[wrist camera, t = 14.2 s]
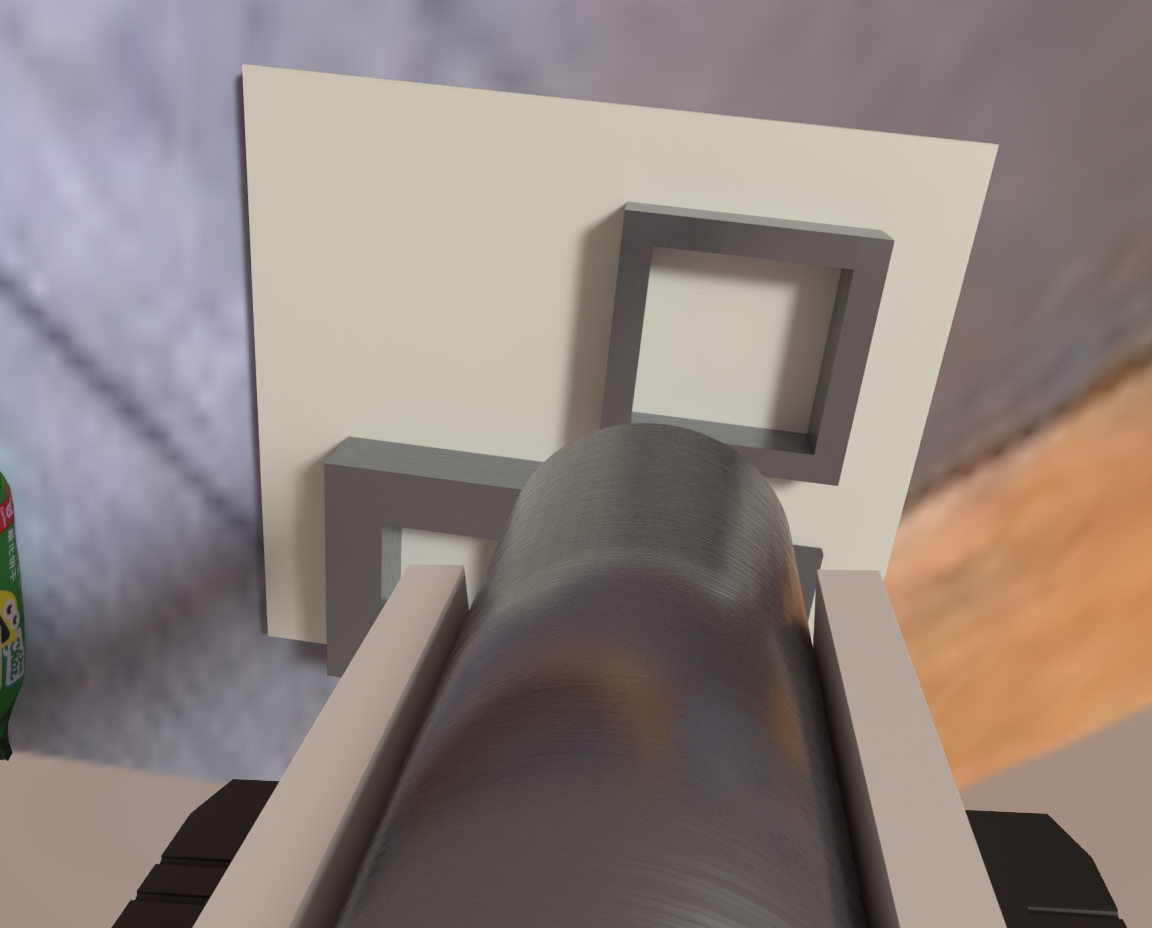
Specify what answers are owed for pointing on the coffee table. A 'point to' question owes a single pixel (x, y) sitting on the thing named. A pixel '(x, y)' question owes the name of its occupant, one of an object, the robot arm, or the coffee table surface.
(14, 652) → the snack package
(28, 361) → the coffee table surface
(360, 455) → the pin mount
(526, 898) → the cylinder
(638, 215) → the socket
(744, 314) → the dock board
